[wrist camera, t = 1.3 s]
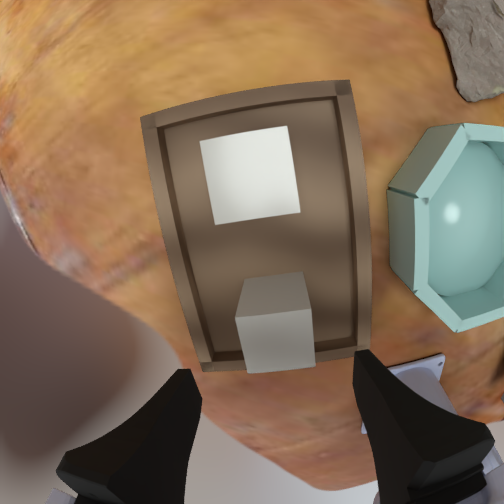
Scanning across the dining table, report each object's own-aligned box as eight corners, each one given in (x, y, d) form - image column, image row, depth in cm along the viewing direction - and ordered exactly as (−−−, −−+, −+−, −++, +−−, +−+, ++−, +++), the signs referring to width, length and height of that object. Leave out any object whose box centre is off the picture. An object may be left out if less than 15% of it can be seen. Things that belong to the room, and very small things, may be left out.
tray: (363, 340, 21) (369, 353, 20) (207, 358, 23) (202, 371, 21) (342, 86, 16) (349, 79, 14) (151, 120, 17) (140, 117, 16)
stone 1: (293, 197, 18) (300, 212, 13) (231, 207, 19) (215, 225, 14) (283, 135, 17) (287, 125, 12) (220, 146, 17) (199, 141, 12)
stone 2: (307, 321, 21) (315, 366, 16) (254, 327, 21) (247, 373, 16) (302, 271, 20) (311, 308, 15) (244, 278, 20) (234, 317, 15)
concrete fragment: (445, 96, 15) (493, 84, 10) (405, -40, 11) (430, -74, 5) (503, 111, 15) (551, 108, 9) (466, -19, 10) (497, -41, 5)
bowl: (508, 284, 19) (534, 303, 15) (388, 315, 21) (407, 346, 17) (512, 133, 15) (545, 134, 11) (378, 127, 17) (405, 120, 12)
